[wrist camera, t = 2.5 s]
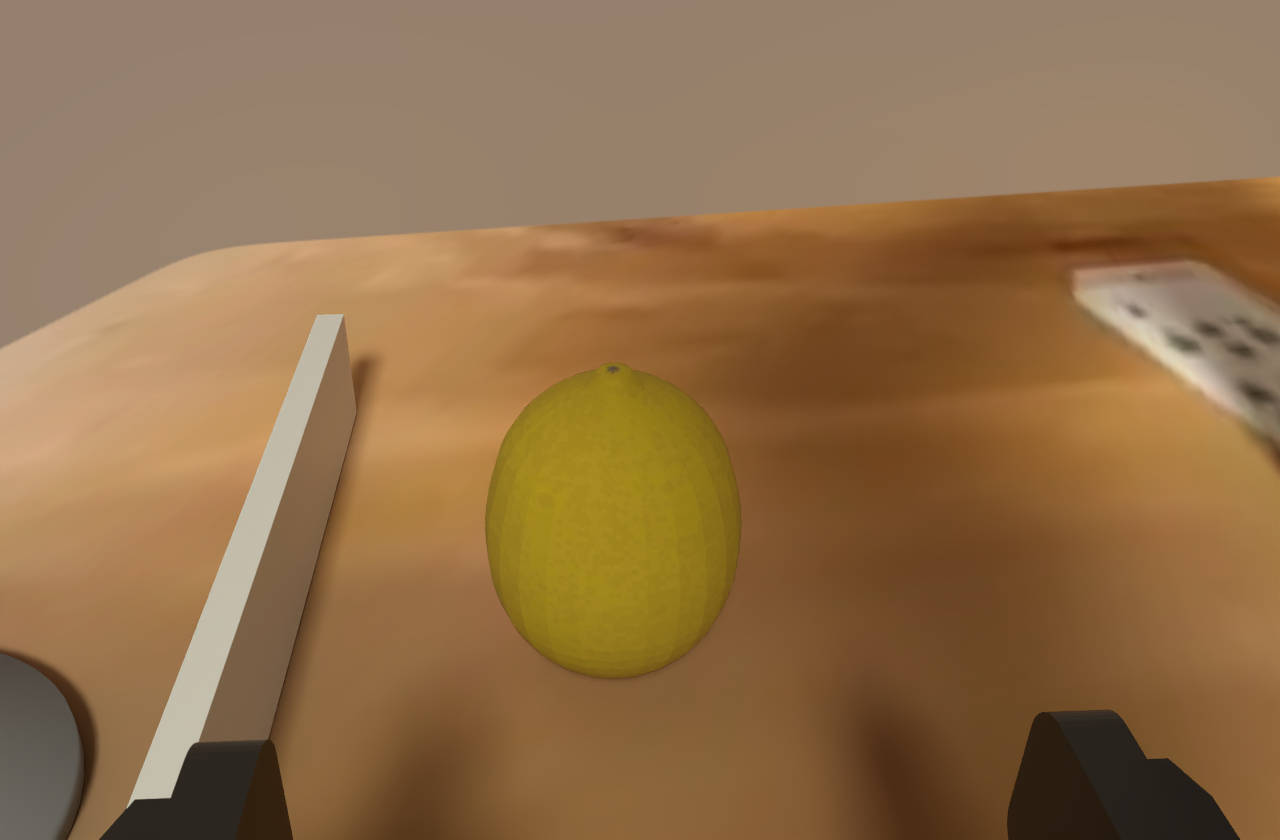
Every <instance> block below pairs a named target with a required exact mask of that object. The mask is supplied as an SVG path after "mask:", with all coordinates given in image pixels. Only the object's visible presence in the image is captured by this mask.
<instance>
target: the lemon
mask: <svg viewBox="0 0 1280 840" xmlns="http://www.w3.org/2000/svg"><path fill="white" fill-rule="evenodd" d="M485 534H486V544H487V551H488V558H489V565H490V570H491V575H492V580H493V583H494V586H495V590H496V593H497V595H498V597H499V600H500V602H501V604H502V606H503V608H504V609H505V611H506V613H507V615H508V616H509V618H510V620H511V622H512V623H513V625H514V626H515V628H516V630H517V631H518V633H519V634H520V635H521V636H522V637H523V638H524V639H525V640H526V641H527V642H528V643H529V644H530V645H531V646H532V647H533V648H535V649H536V650H537V651H538V652H539V653H540V654H541V655H543V656H544V657H545V658H547V659H548V660H550V661H552V662H554V663H556V664H558V665H560V666H562V667H563V668H565V669H567V670H570V671H574V672H577V673H581V674H584V675H588V676H591V677H600V678H610V679H615V678H626V677H634V676H638V675H641V674H645V673H648V672H652V671H655V670H658V669H660V668H662V667H664V666H666V665H668V664H670V663H672V662H674V661H675V660H677V659H679V658H680V657H682V656H683V655H684V654H686V653H687V652H688V651H689V650H690V649H691V648H692V647H693V646H694V645H695V644H697V643H698V642H699V641H700V640H701V639H702V638H703V637H704V636H705V635H706V633H707V632H708V631H709V629H710V628H711V626H712V624H713V623H714V621H715V620H716V618H717V616H718V614H719V613H720V611H721V609H722V608H723V606H724V604H725V602H726V600H727V597H728V595H729V593H730V590H731V586H732V583H733V580H734V575H735V571H736V566H737V559H738V553H739V547H740V538H741V509H740V501H739V494H738V488H737V484H736V479H735V475H734V471H733V468H732V464H731V460H730V457H729V454H728V450H727V447H726V445H725V442H724V440H723V438H722V435H721V433H720V432H719V430H718V429H717V427H716V426H715V424H714V423H713V421H712V420H711V419H710V417H709V416H708V415H707V413H706V412H705V411H704V409H703V408H702V407H701V406H700V405H699V404H698V403H697V402H696V401H695V400H694V399H692V398H691V397H689V396H688V395H687V394H685V393H684V392H683V391H681V390H680V389H679V388H677V387H676V386H674V385H673V384H671V383H669V382H667V381H664V380H662V379H660V378H658V377H655V376H653V375H651V374H648V373H644V372H640V371H636V370H632V369H631V368H630V367H628V366H627V365H625V364H621V363H608V364H604V365H602V366H600V367H599V368H598V369H597V370H591V371H587V372H583V373H579V374H577V375H574V376H572V377H570V378H567V379H565V380H563V381H561V382H558V383H556V384H555V385H553V386H552V387H550V388H549V389H547V390H546V391H545V392H543V393H542V394H540V395H539V396H538V397H536V398H535V399H534V400H533V401H532V402H531V403H530V404H529V405H528V406H526V407H525V409H524V410H523V411H522V412H521V414H520V415H519V416H518V417H517V419H516V420H515V421H514V423H513V424H512V426H511V427H510V429H509V430H508V432H507V434H506V436H505V438H504V440H503V442H502V445H501V447H500V451H499V454H498V457H497V460H496V464H495V467H494V471H493V474H492V478H491V483H490V487H489V492H488V498H487V504H486V516H485Z"/></svg>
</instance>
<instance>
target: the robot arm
mask: <svg viewBox="0 0 1280 840" xmlns="http://www.w3.org/2000/svg"><path fill="white" fill-rule="evenodd" d="M1007 827H1008V839H1009V840H1240V839H1239V837H1238V835H1237V834H1236V832H1235V831H1234V829H1233V828H1232V826H1231V825H1230V823H1229V822H1228V820H1227V819H1226V817H1225V816H1224V814H1223V812H1222V811H1221V809H1220V808H1219V806H1218V805H1217V803H1216V802H1215V800H1214V799H1213V797H1212V796H1211V795H1210V794H1209V793H1207V792H1206V791H1205V790H1204V789H1203V788H1202V787H1200V786H1199V785H1198V784H1197V783H1196V782H1195V781H1194V780H1192V779H1191V778H1190V777H1189V776H1188V775H1187V774H1185V773H1184V772H1183V771H1182V770H1181V769H1180V768H1178V767H1177V766H1176V765H1175V764H1174V763H1173V762H1172V761H1170V760H1169V759H1168V758H1166V759H1147V758H1146V756H1145V755H1144V753H1143V751H1142V750H1141V748H1140V747H1139V745H1138V743H1137V742H1136V740H1135V738H1134V737H1133V735H1132V733H1131V732H1130V730H1129V729H1128V727H1127V725H1126V724H1125V722H1124V721H1123V720H1122V718H1121V717H1120V716H1119V715H1118V714H1117V713H1115V712H1114V711H1111V710H1087V711H1062V712H1042V713H1039V714H1038V715H1037V716H1036V717H1035V719H1034V721H1033V724H1032V726H1031V730H1030V733H1029V737H1028V741H1027V744H1026V748H1025V751H1024V755H1023V758H1022V762H1021V765H1020V769H1019V772H1018V776H1017V779H1016V783H1015V786H1014V790H1013V794H1012V797H1011V801H1010V804H1009V809H1008V819H1007ZM99 840H293V837H292V831H291V826H290V821H289V816H288V810H287V805H286V800H285V795H284V790H283V785H282V780H281V775H280V770H279V764H278V759H277V754H276V750H275V747H274V744H273V742H272V741H271V740H243V741H217V742H196V743H194V744H193V745H192V746H191V747H190V748H189V750H188V752H187V754H186V757H185V759H184V762H183V765H182V767H181V770H180V773H179V776H178V778H177V781H176V784H175V787H174V790H173V792H172V795H171V798H157V799H135V800H134V801H133V802H132V803H131V804H130V805H129V807H128V808H127V809H126V810H125V811H124V812H123V813H122V814H121V816H120V817H119V818H118V819H117V820H116V821H115V822H114V823H113V825H112V826H111V827H110V828H109V829H108V830H107V831H106V832H105V834H104V835H103V836H102V837H101V838H100V839H99Z"/></svg>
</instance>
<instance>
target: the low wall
mask: <svg viewBox="0 0 1280 840" xmlns="http://www.w3.org/2000/svg"><path fill="white" fill-rule="evenodd" d="M356 413H357V410H356V402H355V395H354V387H353V380H352V372H351V365H350V357H349V350H348V342H347V335H346V327H345V320H344V314H334V315H317V317H316V319H315V322H314V325H313V327H312V330H311V332H310V335H309V337H308V340H307V343H306V345H305V348H304V350H303V353H302V356H301V358H300V361H299V363H298V366H297V369H296V371H295V374H294V376H293V379H292V381H291V384H290V387H289V389H288V392H287V394H286V397H285V400H284V402H283V405H282V407H281V410H280V413H279V415H278V418H277V420H276V423H275V426H274V428H273V431H272V433H271V436H270V438H269V441H268V444H267V446H266V449H265V451H264V454H263V457H262V459H261V462H260V464H259V467H258V470H257V472H256V475H255V477H254V480H253V482H252V485H251V488H250V490H249V493H248V495H247V498H246V501H245V503H244V506H243V508H242V511H241V514H240V516H239V519H238V521H237V524H236V527H235V529H234V532H233V534H232V537H231V539H230V542H229V545H228V547H227V550H226V552H225V555H224V558H223V560H222V563H221V565H220V568H219V571H218V573H217V576H216V578H215V581H214V583H213V586H212V589H211V591H210V594H209V596H208V599H207V602H206V604H205V607H204V609H203V612H202V615H201V617H200V620H199V622H198V625H197V628H196V630H195V633H194V635H193V638H192V640H191V643H190V646H189V648H188V651H187V653H186V656H185V659H184V661H183V664H182V666H181V669H180V672H179V674H178V677H177V679H176V682H175V685H174V687H173V690H172V692H171V695H170V697H169V700H168V703H167V705H166V708H165V710H164V713H163V716H162V718H161V721H160V723H159V726H158V729H157V731H156V734H155V736H154V739H153V741H152V744H151V747H150V749H149V752H148V754H147V757H146V760H145V762H144V765H143V767H142V770H141V773H140V775H139V778H138V780H137V783H136V786H135V788H134V791H133V793H132V796H131V798H130V801H129V804H128V806H127V808H128V807H129V805H130V804H131V803H132V802H133V801H134V800H135V799H157V798H171V795H172V792H173V790H174V787H175V784H176V781H177V778H178V776H179V773H180V770H181V767H182V765H183V762H184V759H185V757H186V754H187V752H188V750H189V748H190V747H191V746H192V745H193V744H194V743H196V742H217V741H243V740H268V738H269V735H270V731H271V727H272V724H273V720H274V716H275V713H276V709H277V705H278V701H279V698H280V694H281V690H282V687H283V683H284V679H285V676H286V672H287V668H288V665H289V661H290V657H291V653H292V650H293V646H294V642H295V639H296V635H297V631H298V628H299V624H300V620H301V617H302V613H303V609H304V605H305V602H306V598H307V594H308V591H309V587H310V583H311V580H312V576H313V572H314V569H315V565H316V561H317V557H318V554H319V550H320V546H321V543H322V539H323V535H324V532H325V528H326V524H327V521H328V517H329V513H330V509H331V506H332V502H333V498H334V495H335V491H336V487H337V484H338V480H339V476H340V472H341V469H342V465H343V461H344V458H345V454H346V450H347V447H348V443H349V439H350V436H351V432H352V428H353V424H354V421H355V417H356Z"/></svg>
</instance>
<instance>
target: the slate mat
mask: <svg viewBox="0 0 1280 840" xmlns="http://www.w3.org/2000/svg"><path fill="white" fill-rule="evenodd" d="M84 779H85V762H84V751H83V747H82V742H81V738H80V734H79V731H78V728H77V725H76V722H75V719H74V717H73V714H72V712H71V710H70V708H69V706H68V704H67V701H66V699H65V697H64V696H63V695H62V694H61V692H60V691H59V690H58V689H57V687H56V686H55V685H54V684H53V682H51V681H50V680H49V679H48V678H47V677H45V676H44V675H43V674H42V673H41V672H39V671H38V670H37V669H35V668H33V667H31V666H30V665H28V664H26V663H24V662H22V661H21V660H19V659H16V658H13V657H10V656H8V655H5V654H2V653H0V840H66V838H67V836H68V834H69V832H70V830H71V828H72V825H73V822H74V819H75V816H76V814H77V811H78V808H79V805H80V801H81V796H82V790H83V784H84Z"/></svg>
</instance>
